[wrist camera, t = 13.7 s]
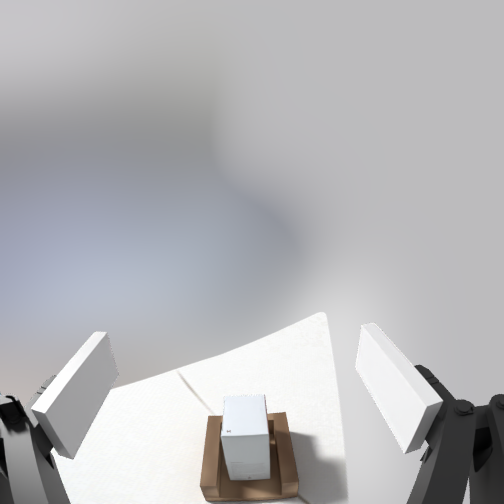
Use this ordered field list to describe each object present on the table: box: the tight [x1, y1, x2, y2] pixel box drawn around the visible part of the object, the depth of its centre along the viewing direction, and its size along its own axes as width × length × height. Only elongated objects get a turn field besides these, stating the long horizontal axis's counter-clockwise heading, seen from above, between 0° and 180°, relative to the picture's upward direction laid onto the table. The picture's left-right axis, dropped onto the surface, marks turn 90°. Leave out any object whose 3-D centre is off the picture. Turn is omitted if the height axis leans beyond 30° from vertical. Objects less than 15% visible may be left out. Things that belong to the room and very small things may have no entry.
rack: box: [200, 412, 299, 501], centre depth 34 cm, size 12×14×4 cm
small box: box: [221, 395, 270, 480], centre depth 33 cm, size 8×6×10 cm
